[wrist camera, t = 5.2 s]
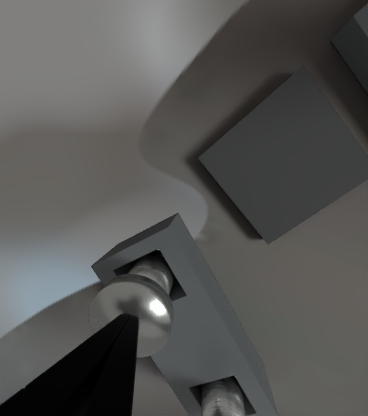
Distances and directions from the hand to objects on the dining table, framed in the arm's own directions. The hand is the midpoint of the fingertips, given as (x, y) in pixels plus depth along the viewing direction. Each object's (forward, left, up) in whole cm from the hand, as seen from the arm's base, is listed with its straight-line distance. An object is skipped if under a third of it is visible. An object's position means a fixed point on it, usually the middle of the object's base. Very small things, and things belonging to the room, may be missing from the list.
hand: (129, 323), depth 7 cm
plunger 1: (0, 0, -4) cm, 4 cm away
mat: (+8, -6, -6) cm, 12 cm away
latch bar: (-3, -3, -6) cm, 7 cm away
